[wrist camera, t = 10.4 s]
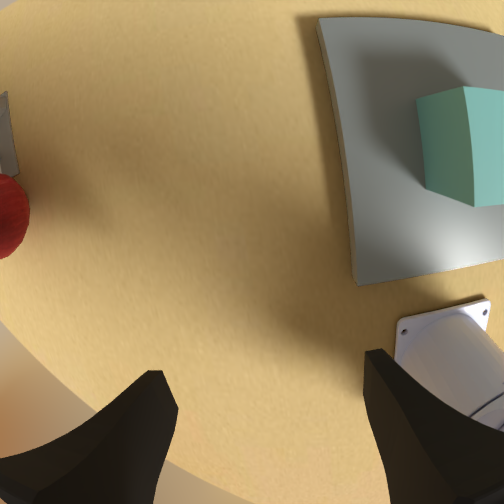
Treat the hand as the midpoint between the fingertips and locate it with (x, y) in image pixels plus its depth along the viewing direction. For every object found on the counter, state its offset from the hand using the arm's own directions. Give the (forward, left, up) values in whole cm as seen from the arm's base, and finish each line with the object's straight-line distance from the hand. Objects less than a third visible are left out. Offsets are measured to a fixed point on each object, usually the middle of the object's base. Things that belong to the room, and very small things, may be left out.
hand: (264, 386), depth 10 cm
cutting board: (+7, -12, -9) cm, 17 cm away
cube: (+7, -12, -8) cm, 16 cm away
